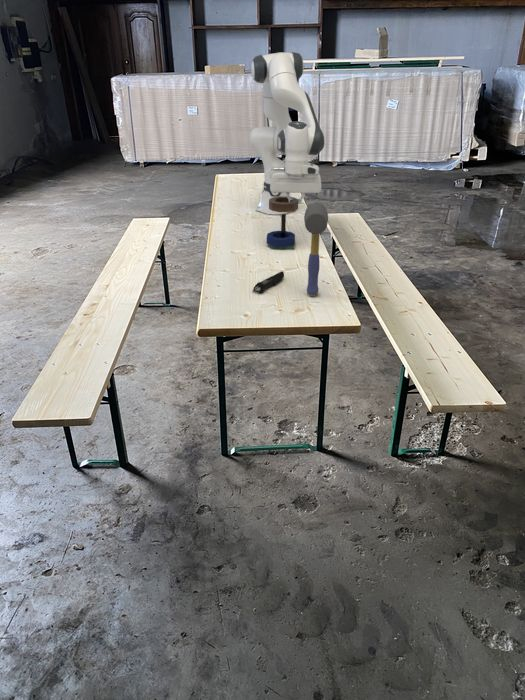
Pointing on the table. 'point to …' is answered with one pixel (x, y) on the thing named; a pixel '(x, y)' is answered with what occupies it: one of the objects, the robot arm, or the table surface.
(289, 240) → the navy ring
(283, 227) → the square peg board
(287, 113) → the robot arm
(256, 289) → the electric trimmer
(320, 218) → the rubber mallet
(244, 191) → the table surface
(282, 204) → the walnut ring
